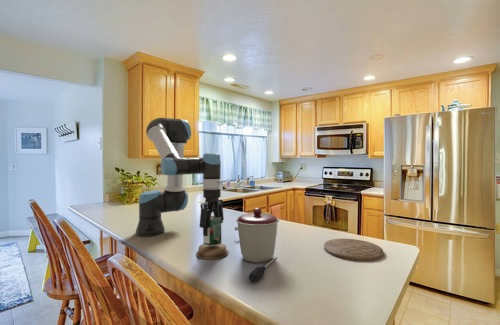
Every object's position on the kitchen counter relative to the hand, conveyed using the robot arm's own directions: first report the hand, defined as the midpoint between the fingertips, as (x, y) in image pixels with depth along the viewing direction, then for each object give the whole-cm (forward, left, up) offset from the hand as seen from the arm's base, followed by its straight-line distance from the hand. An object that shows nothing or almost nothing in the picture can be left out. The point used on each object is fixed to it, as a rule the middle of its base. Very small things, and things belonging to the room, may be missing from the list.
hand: (212, 240), depth 117 cm
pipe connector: (+3, +25, -6) cm, 26 cm away
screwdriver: (+27, -5, -6) cm, 29 cm away
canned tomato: (0, 0, -1) cm, 1 cm away
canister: (+20, +4, -6) cm, 21 cm away
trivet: (+55, +31, -7) cm, 64 cm away
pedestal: (0, 0, -6) cm, 6 cm away
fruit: (+5, +47, -6) cm, 48 cm away
